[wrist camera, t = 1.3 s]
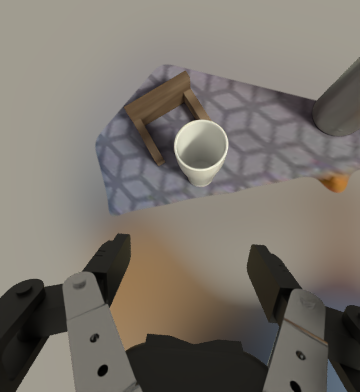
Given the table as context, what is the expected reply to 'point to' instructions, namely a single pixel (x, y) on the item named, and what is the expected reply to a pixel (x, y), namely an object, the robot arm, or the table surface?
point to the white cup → (201, 151)
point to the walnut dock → (163, 108)
